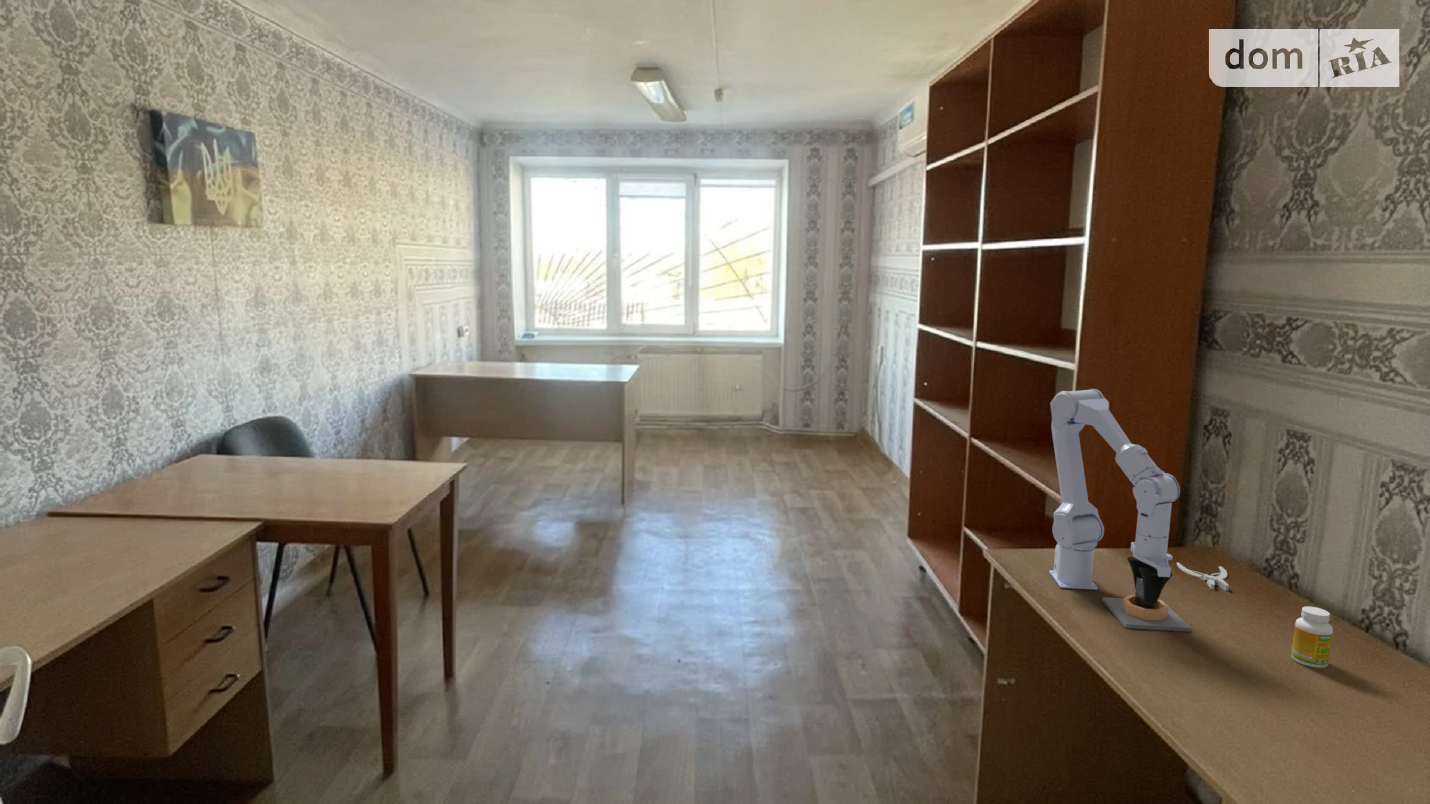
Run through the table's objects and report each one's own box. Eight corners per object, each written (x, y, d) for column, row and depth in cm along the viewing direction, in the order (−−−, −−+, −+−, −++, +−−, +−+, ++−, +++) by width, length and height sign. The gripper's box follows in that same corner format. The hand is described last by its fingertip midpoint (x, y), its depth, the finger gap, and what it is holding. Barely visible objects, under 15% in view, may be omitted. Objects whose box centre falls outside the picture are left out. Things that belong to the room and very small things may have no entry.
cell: (1131, 600, 160) (1133, 572, 159) (1151, 601, 160) (1154, 573, 159) (1139, 608, 156) (1141, 580, 155) (1160, 609, 156) (1162, 581, 155)
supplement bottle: (1318, 671, 136) (1325, 619, 135) (1284, 658, 141) (1291, 608, 139) (1334, 664, 139) (1341, 613, 137) (1300, 651, 143) (1307, 602, 142)
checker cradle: (1102, 600, 166) (1103, 588, 165) (1162, 604, 164) (1163, 591, 163) (1125, 627, 153) (1126, 614, 152) (1190, 631, 151) (1191, 618, 151)
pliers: (1222, 563, 184) (1246, 587, 170) (1221, 569, 184) (1245, 594, 170) (1175, 558, 186) (1195, 582, 172) (1175, 565, 187) (1194, 589, 173)
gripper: (1190, 546, 148) (1183, 613, 150) (1158, 523, 162) (1152, 584, 164) (1150, 545, 149) (1144, 611, 151) (1122, 521, 163) (1117, 582, 165)
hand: (1146, 597), depth 158 cm, fingers closed on cell, 4 cm apart
